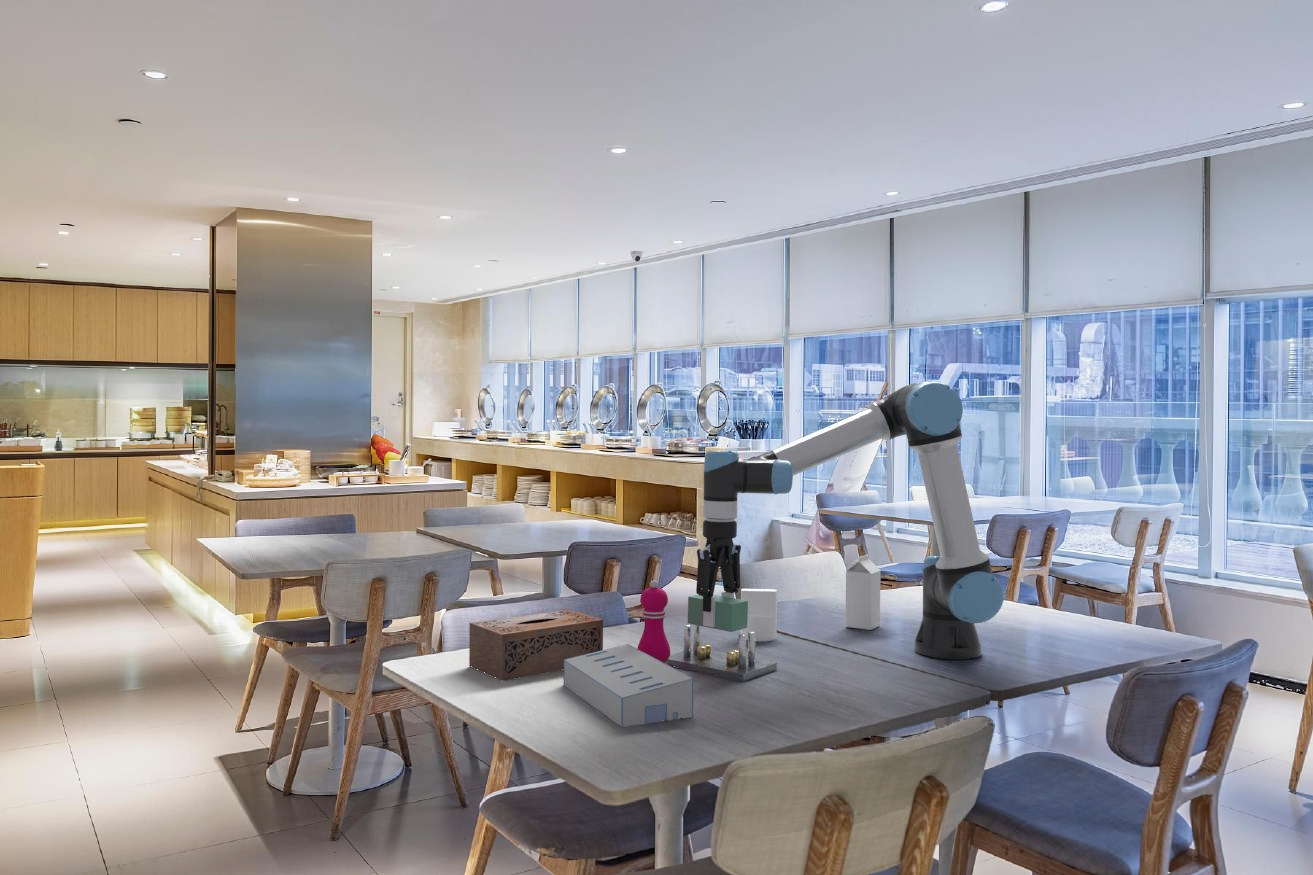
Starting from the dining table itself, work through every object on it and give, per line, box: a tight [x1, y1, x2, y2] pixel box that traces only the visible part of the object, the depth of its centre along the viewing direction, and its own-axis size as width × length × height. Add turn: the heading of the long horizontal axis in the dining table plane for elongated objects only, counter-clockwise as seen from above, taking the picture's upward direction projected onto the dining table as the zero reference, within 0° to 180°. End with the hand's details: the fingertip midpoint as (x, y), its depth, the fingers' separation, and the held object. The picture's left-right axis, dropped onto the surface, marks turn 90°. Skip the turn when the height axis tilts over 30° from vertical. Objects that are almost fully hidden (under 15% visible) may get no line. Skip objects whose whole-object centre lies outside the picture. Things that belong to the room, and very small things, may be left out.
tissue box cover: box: [468, 609, 604, 681], centre depth 215 cm, size 26×14×10 cm, turn 128°
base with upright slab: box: [740, 588, 778, 642], centre depth 244 cm, size 9×9×12 cm
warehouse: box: [563, 643, 695, 728], centre depth 188 cm, size 30×14×8 cm, turn 25°
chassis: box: [665, 624, 778, 683], centre depth 214 cm, size 22×13×8 cm, turn 50°
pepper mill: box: [636, 579, 671, 665], centre depth 209 cm, size 7×7×20 cm
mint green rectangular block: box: [687, 594, 748, 633], centre depth 214 cm, size 12×6×6 cm, turn 50°
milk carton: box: [845, 553, 881, 631], centre depth 258 cm, size 7×7×19 cm
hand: (718, 623), depth 214 cm, fingers closed on mint green rectangular block, 6 cm apart
